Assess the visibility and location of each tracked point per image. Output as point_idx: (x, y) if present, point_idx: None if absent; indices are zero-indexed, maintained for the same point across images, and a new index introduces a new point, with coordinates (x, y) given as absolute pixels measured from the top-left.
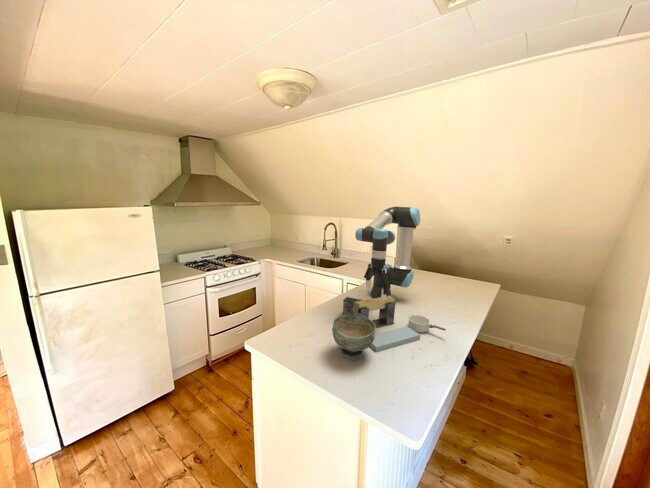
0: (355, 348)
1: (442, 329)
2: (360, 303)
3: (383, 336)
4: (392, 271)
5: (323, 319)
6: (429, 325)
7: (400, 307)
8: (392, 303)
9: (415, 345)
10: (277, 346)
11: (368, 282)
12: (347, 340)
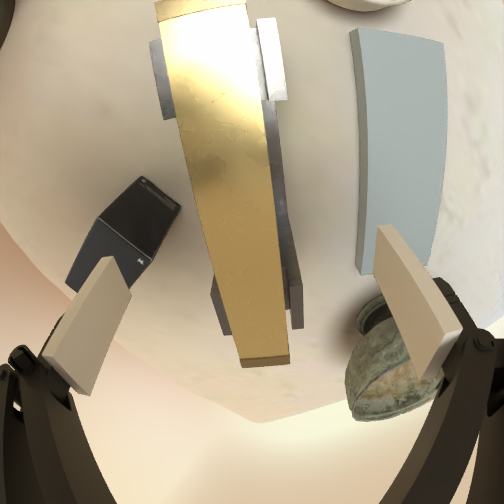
0: None
1: None
2: (276, 347)
3: (396, 205)
4: None
5: (162, 323)
6: None
7: None
8: (270, 43)
9: (455, 99)
10: (280, 406)
11: (87, 364)
12: (433, 387)
